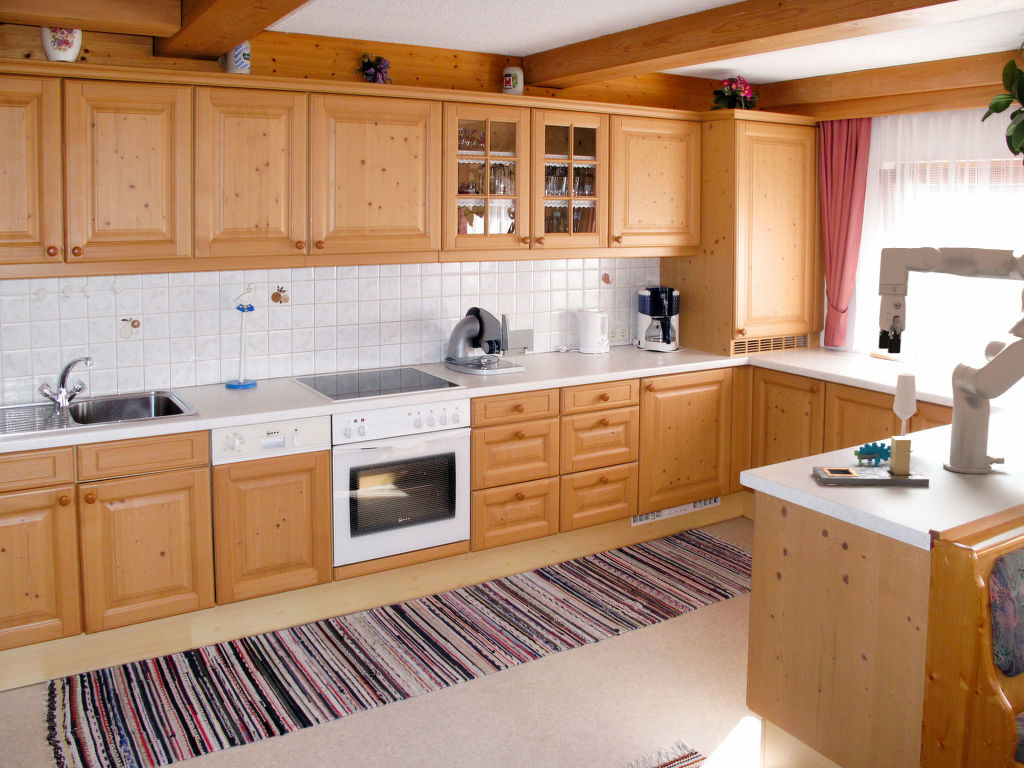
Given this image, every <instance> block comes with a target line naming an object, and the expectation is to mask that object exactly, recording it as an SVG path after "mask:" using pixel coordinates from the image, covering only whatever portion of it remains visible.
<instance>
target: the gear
mask: <svg viewBox="0 0 1024 768" xmlns="http://www.w3.org/2000/svg"><path fill="white" fill-rule="evenodd" d="M853 452H854V453H853V454H854V457H857V458H856V459H857V460H858V467H859V466H860V467H861V466H862V463H863V461H864V460H866V461H867V462H870V463H871V462H873V460H874V467H879V463H881V460H883V461H884V462H887V461H889V459H890V454H891V445H886V443H885V442H882V443H880V445H878V443H877V442H875V441H874V442H872V443H871V445H870V444H869V443H865V444H864V445H863V446H860V447H859V450H858V449H857V450H854V451H853ZM862 460H863V461H862Z"/></svg>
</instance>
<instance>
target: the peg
mask: <svg viewBox="0 0 1024 768" xmlns="http://www.w3.org/2000/svg"><path fill="white" fill-rule="evenodd" d="M890 446H891V454H890V458H889V460H890V461H889V468H890V473H889V474H891V475H892V476H909V468H911V465H910V463H911V452H910V450H911V449H912V448H911V447H912V439H911V438H909V437H908V436H906V435H905V436H894V435H893V436H891V440H890Z"/></svg>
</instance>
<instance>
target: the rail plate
mask: <svg viewBox="0 0 1024 768" xmlns="http://www.w3.org/2000/svg"><path fill="white" fill-rule="evenodd" d="M889 473H890V467H883V466H882V467H881V466H880V467H879V466H878V467H875V466H874V467H872V466H871V467H866V466H865V467H864V466H863V467H861V466H860V467H859V466H856V467H855V466H812V475H815V476H816V477H817V478H818V479H819V480H818V479H817V478H816V477H815V476H814V477H815V478H816V479H817V480H818V482H819V483H820V482H821V483H822V484H837V485H836V486H858V485H862V486H863V487H865V486H866V487H868V486H870V487H871V486H872V487H873V486H874V487H880V486H882V487H929V486H930V478H928V477H927V476H926V475H925V474H923V473H922V472H921V471H919V470H918V469H916V468H915V467H910V468H909V476H892V475H891V474H889ZM821 483H820V484H821ZM822 484H821V485H822Z"/></svg>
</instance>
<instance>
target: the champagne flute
mask: <svg viewBox="0 0 1024 768" xmlns="http://www.w3.org/2000/svg"><path fill="white" fill-rule="evenodd" d="M916 388H917V387H916V374H914V373H907V372H903V373H902V372H901V373H898V375H897V381H896V388H895V395H894V401H893V408H892V410H893V412H894V414H895V415H896V416H897V417H898V418H899V419H901V430H900V431H901V436H906V432H907V431H906V429H907V420H909V419H910V418H911V417H913V416H914V414H915V413H916V412H917V391H916ZM912 450H914V448H911V450H910V451H912Z"/></svg>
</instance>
